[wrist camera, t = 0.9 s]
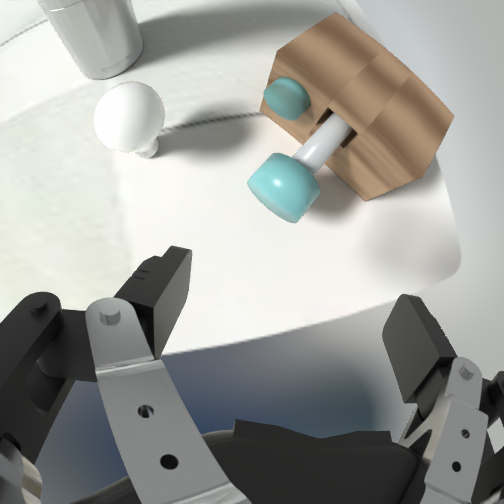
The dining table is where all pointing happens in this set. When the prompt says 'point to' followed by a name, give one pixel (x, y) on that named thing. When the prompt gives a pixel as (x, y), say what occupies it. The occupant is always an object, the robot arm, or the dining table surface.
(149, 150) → the lightbulb
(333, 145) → the knob
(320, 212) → the dining table surface
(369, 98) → the mount
